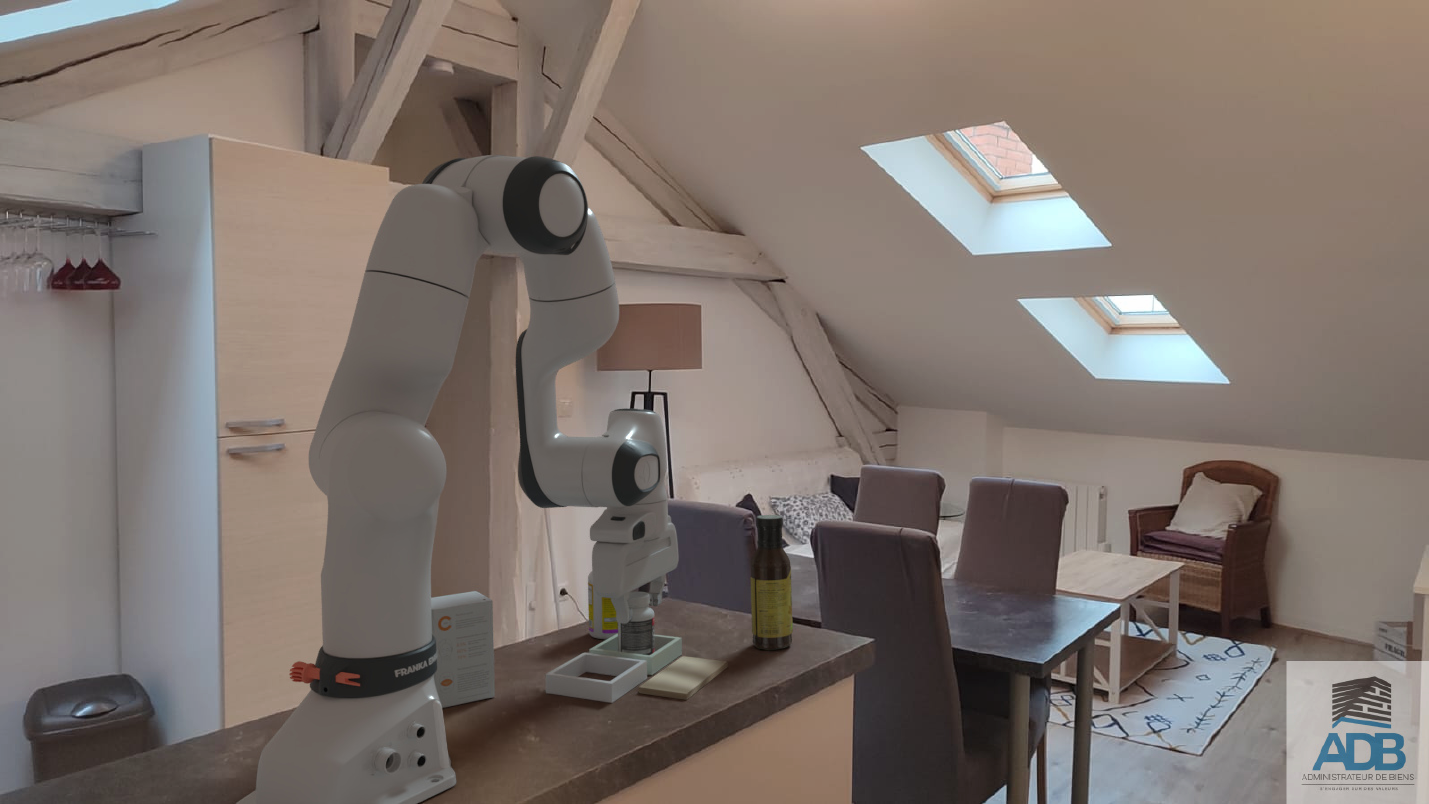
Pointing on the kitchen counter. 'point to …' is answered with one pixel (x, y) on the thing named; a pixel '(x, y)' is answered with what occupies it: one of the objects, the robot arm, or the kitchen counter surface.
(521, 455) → the robot arm
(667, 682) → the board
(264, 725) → the kitchen counter surface
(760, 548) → the sauce bottle
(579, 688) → the white square frame
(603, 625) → the supplement bottle
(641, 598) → the pill bottle
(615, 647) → the sage tray
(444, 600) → the small box
